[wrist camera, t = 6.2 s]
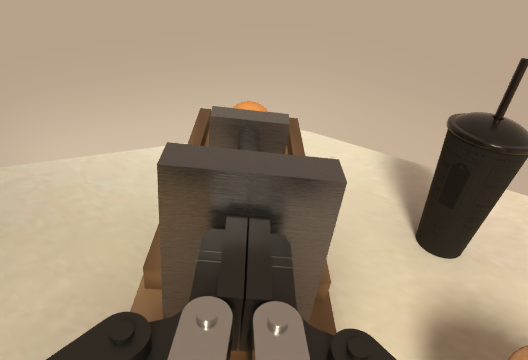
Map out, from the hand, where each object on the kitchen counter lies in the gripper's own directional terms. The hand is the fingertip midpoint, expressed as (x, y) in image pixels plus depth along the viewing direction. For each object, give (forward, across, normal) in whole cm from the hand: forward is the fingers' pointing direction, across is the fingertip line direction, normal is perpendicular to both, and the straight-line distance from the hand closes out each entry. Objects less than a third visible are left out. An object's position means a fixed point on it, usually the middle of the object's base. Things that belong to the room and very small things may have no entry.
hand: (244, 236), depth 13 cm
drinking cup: (+21, -22, +17) cm, 35 cm away
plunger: (+9, 0, +7) cm, 11 cm away
